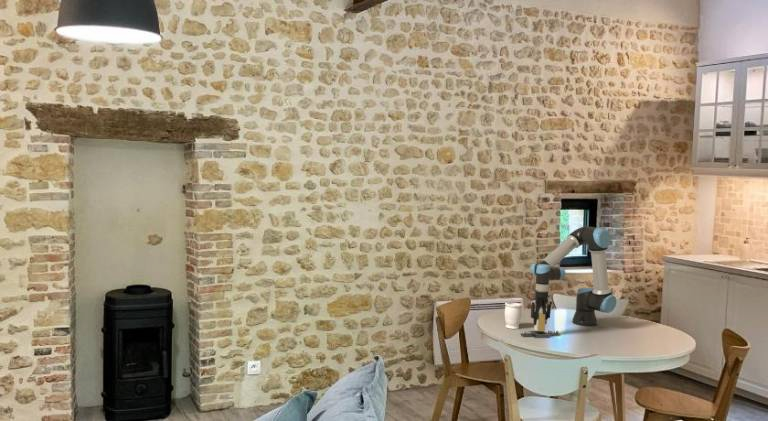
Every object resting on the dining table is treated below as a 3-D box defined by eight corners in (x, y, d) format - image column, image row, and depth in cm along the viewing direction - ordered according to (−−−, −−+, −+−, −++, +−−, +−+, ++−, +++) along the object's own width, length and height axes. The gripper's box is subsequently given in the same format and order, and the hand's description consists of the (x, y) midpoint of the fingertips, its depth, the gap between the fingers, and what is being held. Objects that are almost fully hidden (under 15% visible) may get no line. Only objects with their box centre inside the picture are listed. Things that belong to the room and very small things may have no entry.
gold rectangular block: (540, 329, 398) (541, 312, 398) (544, 331, 395) (545, 314, 394) (534, 329, 397) (535, 313, 397) (538, 331, 394) (539, 314, 393)
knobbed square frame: (554, 333, 404) (554, 329, 404) (562, 337, 395) (562, 333, 395) (518, 334, 397) (518, 330, 397) (525, 338, 389) (525, 334, 388)
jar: (520, 330, 408) (522, 306, 407) (503, 328, 410) (504, 304, 409) (520, 326, 419) (522, 302, 418) (504, 324, 421) (505, 301, 420)
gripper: (551, 289, 400) (549, 328, 402) (525, 289, 396) (523, 328, 397) (558, 291, 393) (555, 331, 395) (531, 292, 388) (529, 332, 390)
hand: (539, 329), depth 396 cm, fingers closed on gold rectangular block, 4 cm apart
